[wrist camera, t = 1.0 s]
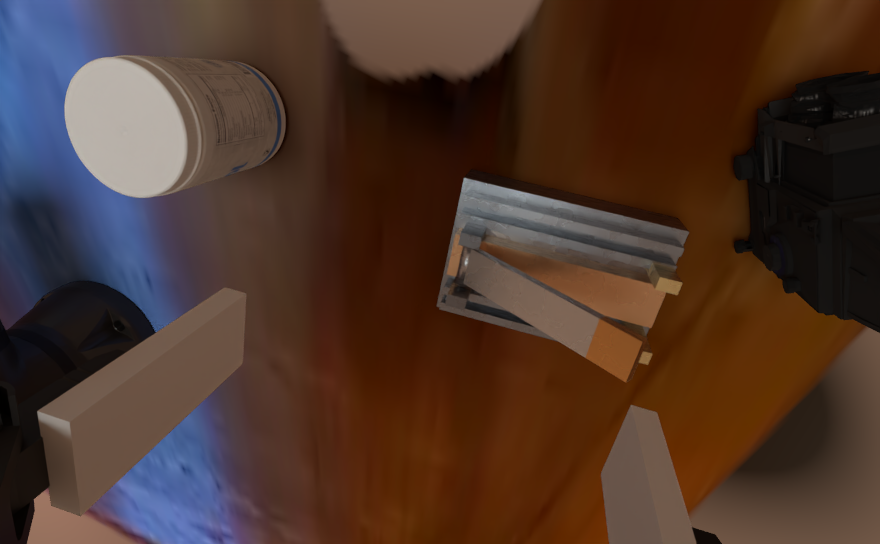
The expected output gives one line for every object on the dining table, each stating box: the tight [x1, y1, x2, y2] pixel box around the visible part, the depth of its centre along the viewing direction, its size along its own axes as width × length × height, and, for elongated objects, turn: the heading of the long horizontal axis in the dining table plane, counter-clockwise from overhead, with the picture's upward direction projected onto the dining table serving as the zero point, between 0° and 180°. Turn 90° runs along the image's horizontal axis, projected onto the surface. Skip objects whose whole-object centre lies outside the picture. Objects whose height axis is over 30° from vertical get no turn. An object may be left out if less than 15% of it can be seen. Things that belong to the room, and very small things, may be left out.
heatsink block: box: [437, 169, 689, 365], centre depth 42 cm, size 18×12×9 cm, turn 79°
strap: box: [455, 246, 648, 382], centre depth 36 cm, size 16×4×1 cm
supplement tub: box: [65, 55, 286, 198], centre depth 41 cm, size 10×10×15 cm
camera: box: [734, 71, 880, 333], centre depth 31 cm, size 10×14×20 cm
